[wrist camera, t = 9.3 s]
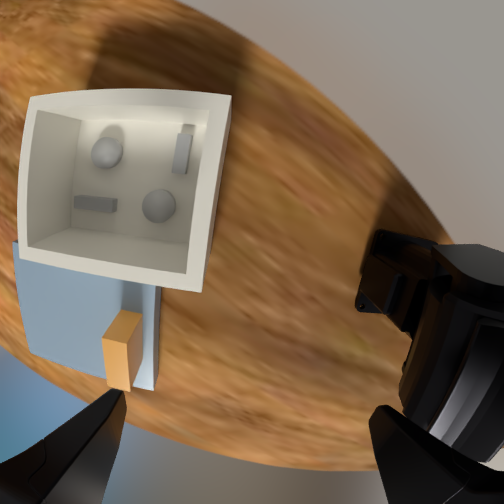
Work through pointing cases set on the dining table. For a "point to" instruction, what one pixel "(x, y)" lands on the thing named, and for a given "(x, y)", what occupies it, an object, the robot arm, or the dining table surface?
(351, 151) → the dining table surface
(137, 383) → the lid
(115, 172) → the parts tub
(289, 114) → the dining table surface
